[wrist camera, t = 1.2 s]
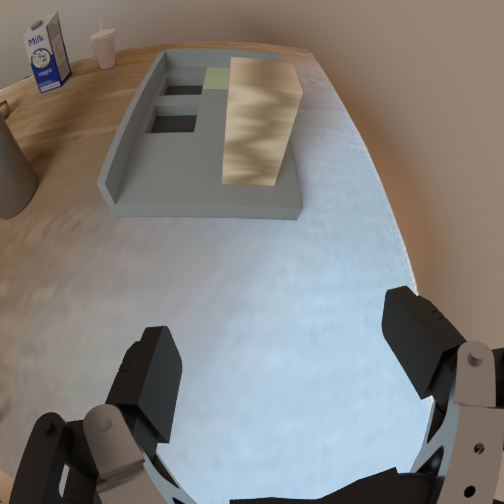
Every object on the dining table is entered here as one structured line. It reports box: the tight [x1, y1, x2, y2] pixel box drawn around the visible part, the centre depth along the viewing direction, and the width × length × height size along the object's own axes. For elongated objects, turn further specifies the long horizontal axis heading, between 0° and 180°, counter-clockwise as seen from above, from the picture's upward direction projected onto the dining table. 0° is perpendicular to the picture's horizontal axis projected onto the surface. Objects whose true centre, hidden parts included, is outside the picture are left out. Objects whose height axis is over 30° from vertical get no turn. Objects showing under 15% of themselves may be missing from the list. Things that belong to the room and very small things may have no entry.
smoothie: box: [89, 18, 116, 69], centre depth 39 cm, size 6×6×14 cm
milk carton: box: [23, 11, 72, 93], centre depth 33 cm, size 7×7×20 cm
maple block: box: [222, 57, 303, 186], centre depth 26 cm, size 6×6×13 cm
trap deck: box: [96, 48, 302, 220], centre depth 35 cm, size 22×34×6 cm, turn 2°
